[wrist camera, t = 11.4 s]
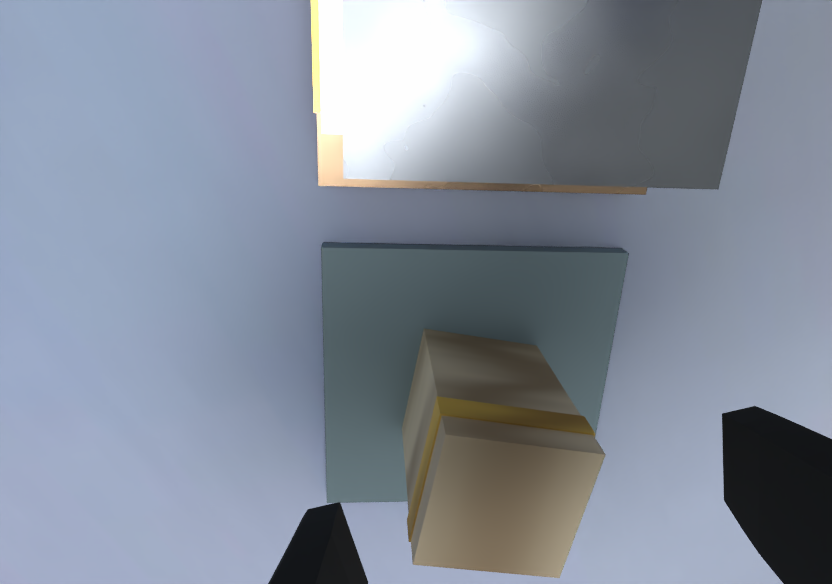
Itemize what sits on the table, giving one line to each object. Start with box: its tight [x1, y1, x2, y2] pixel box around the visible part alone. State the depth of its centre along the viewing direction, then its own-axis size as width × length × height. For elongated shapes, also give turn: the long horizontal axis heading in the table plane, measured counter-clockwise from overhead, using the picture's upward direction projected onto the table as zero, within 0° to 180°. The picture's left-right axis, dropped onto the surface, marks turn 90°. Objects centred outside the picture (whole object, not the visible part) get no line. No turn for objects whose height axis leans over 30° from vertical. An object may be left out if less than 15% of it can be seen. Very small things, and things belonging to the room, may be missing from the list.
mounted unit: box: [311, 0, 762, 195], centre depth 13 cm, size 10×8×6 cm
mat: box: [321, 243, 629, 503], centre depth 19 cm, size 10×10×1 cm
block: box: [402, 329, 605, 578], centre depth 16 cm, size 4×4×6 cm
